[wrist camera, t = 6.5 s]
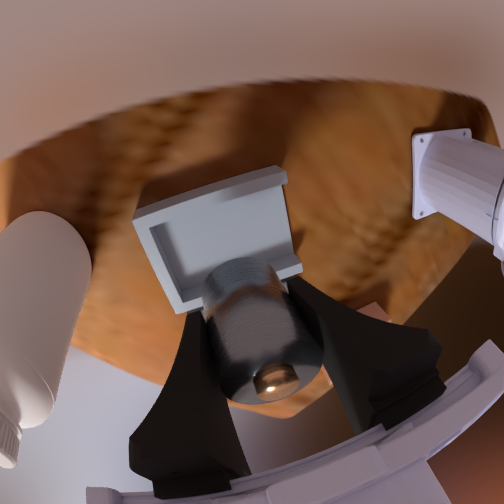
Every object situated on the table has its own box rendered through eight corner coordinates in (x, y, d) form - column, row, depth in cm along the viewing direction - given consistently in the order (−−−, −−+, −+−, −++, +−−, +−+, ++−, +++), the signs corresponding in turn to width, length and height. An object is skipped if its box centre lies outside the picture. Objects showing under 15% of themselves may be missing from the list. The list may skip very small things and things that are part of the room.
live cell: (271, 246, 13) (329, 335, 8) (283, 306, 16) (329, 393, 11) (190, 272, 13) (207, 377, 8) (214, 329, 15) (239, 425, 10)
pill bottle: (-5, 216, 14) (-123, 360, 1) (81, 200, 16) (-41, 397, 3) (25, 303, 18) (-30, 460, 5) (104, 299, 20) (79, 493, 7)
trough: (275, 164, 18) (285, 170, 17) (293, 259, 22) (302, 271, 20) (135, 209, 17) (131, 220, 16) (175, 298, 21) (176, 314, 20)
